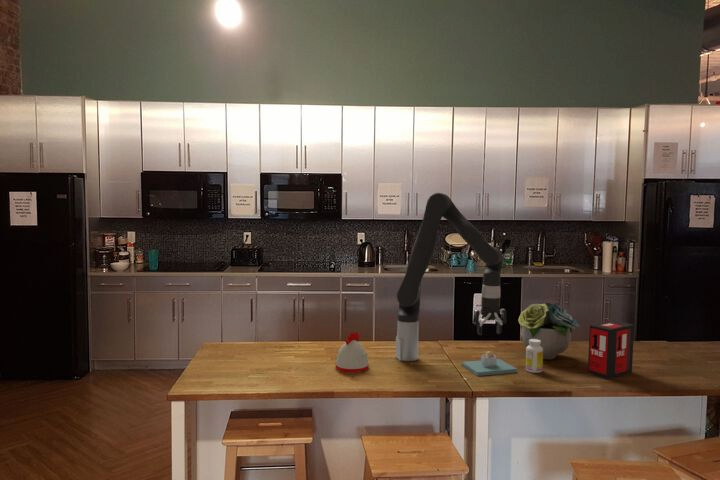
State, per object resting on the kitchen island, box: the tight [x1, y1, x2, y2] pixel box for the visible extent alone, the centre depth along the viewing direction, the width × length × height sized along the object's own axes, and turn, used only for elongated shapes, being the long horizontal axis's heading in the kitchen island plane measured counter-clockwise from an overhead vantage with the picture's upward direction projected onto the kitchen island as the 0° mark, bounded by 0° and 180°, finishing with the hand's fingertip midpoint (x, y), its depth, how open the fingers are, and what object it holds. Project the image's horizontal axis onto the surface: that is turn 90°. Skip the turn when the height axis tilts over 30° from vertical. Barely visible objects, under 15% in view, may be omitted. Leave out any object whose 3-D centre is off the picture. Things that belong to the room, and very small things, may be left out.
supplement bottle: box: [525, 339, 544, 374], centre depth 222 cm, size 7×7×13 cm
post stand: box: [461, 350, 518, 377], centre depth 224 cm, size 18×14×8 cm
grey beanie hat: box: [335, 331, 370, 373], centre depth 225 cm, size 14×14×15 cm
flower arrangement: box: [518, 302, 580, 360], centre depth 241 cm, size 25×25×24 cm
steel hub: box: [480, 353, 498, 368], centre depth 224 cm, size 6×6×4 cm
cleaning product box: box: [587, 320, 635, 380], centre depth 220 cm, size 16×9×20 cm, turn 122°
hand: (489, 334), depth 223 cm, fingers open, 8 cm apart
